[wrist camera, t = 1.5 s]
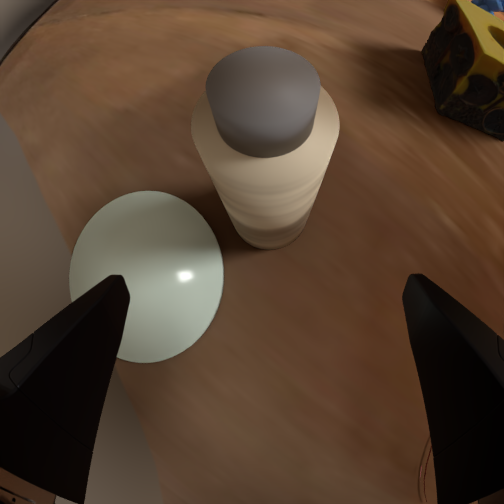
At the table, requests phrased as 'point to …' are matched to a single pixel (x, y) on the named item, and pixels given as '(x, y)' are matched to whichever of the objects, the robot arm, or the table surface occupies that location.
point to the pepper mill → (265, 141)
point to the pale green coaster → (153, 271)
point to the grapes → (490, 5)
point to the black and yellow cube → (468, 67)
